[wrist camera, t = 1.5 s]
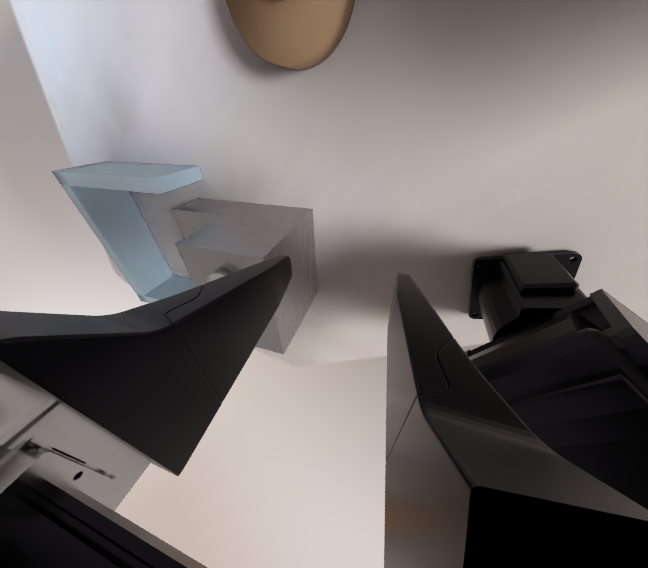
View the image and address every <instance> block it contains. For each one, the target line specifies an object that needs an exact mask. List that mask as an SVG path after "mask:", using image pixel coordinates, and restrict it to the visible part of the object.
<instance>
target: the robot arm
mask: <svg viewBox="0 0 648 568" xmlns="http://www.w3.org/2000/svg"><path fill="white" fill-rule="evenodd" d="M570 257H574V258H573V259H571V260H568V259H569V258H570ZM581 260H582V256H581V255H580V254H579V253H578V252H576V251H565V252H551V253H550V252H548V251H546V252H532V253H518V254H507V255H505V256H494V257H480V258H477V259H475V260H474V261H473V263H472V274H471V285H470V296H469V307H468V314H469V317H470V318H472V319H483V320H484V323H485V326H486V330H487V333H488V336H489V340H490V342H489V343H487V344H484V345H482V346H480V347H478V348H476V349H474V350H471V351H470V350H468V351H465V352H464V351H463V350H462V348H461V347H460V346H459V344H458V343H457V341H456V340H455V339H454V338H453V336H452V334H451V333H450V332H449V330H448V329H447V327H446V326H445V324H444V323H443V322H442V320H441V319H440V317H439V316H438V314H437V313H436V312H435V310H434V309H433V307H432V306H431V305H430V303H429V302H428V300H427V299H426V297H425V296H424V295H423V293H422V292H421V290H420V289H419V288H418V286H417V285H416V283H415V282H414V280H413V279H412V278H411V276H410V275H409V274H403V273H398V274H397V278H396V283H395V287H394V292H393V298H392V304H391V311H390V317H389V323H388V338H387V408H386V410H387V411H386V413H387V414H386V476H385V481H386V482H385V548H384V552H385V553H384V568H648V323H647V322H646V321H644V320H643V319H642V318H640V317H639V316H638V315H636V314H635V313H634V312H632V311H631V310H630V309H628V308H627V307H626V306H624V305H623V304H621V303H620V302H619V301H617V300H616V299H615V298H613V297H612V296H611V295H609V294H608V293H607V292H605V291H604V290H603V289H600V290H598V291H596V292H593V293H591V294H590V297H588V298H587V297H586V296H585V294H584V293H583V292H582V291H581V290H580V289H579V288H578V287H579V284H578V283H577V281H576V280H575V279H574V278H575V276H576V273H577V271H578V268H579V265H580V263H581ZM478 263H483V264H482V265H477V264H478ZM291 277H292V266H291V259H290V257H289V256H287V255H278V256H275V257H273V258H270V259H267V260H265V261H262V262H260V263H257V264H254V265H252V266H249V267H247V268H244V269H241V270H239V271H236V272H234V273H231V274H229V275H226V276H223V277H221V278H218V279H216V280H213V281H210V282H208V283H205V284H204V285H200V286H197V287H195V288H192V289H190V290H187V291H184V292H181V293H179V294H176V295H173V296H170V297H167V298H164V299H161V300H158V301H155V302H152V303H149V304H146V305H143V306H140V307H136V308H133V309H130V310H127V311H124V312H121V313H117V314H112V315H104V316H85V315H66V314H45V313H25V312H7V311H0V568H207V567H206V566H204V565H202V564H201V563H199V562H197V561H196V560H194V559H192V558H190V557H189V556H187V555H186V554H184V553H182V552H181V551H179V550H177V549H176V548H174V547H172V546H171V545H169V544H167V543H165V542H164V541H163V540H161V539H159V538H158V537H156V536H154V535H152V534H151V533H149V532H148V531H146V530H144V529H143V528H141V527H139V526H138V525H136V524H134V523H133V522H131V521H129V520H128V519H126V518H124V517H123V516H121V515H120V514H118V513H116V512H114V511H115V510H116V508H117V507H118V506H119V504H120V503H121V502H122V500H123V499H124V498H125V496H126V495H127V493H128V492H129V491H130V490H131V488H132V487H133V485H134V484H135V483H136V482H137V480H138V479H139V477H140V476H141V475H142V473H143V472H144V471H145V469H146V468H147V467H148V465H149V464H150V463H152V464H154V465H157V466H158V467H160V468H162V469H164V470H166V471H168V472H170V473H172V474H174V475H176V476H179V474H180V473H181V472H182V470H183V469H184V467H185V465H186V464H187V462H188V460H189V458H190V457H191V455H192V453H193V452H194V450H195V448H196V447H197V445H198V443H199V441H200V440H201V438H202V436H203V435H204V433H205V431H206V430H207V427H208V426H209V424H210V423H211V421H212V419H213V418H214V416H215V414H216V413H217V411H218V409H219V407H220V406H221V404H222V402H223V400H224V399H225V397H226V395H227V393H228V392H229V390H230V388H231V387H232V385H233V383H234V381H235V380H236V378H237V376H238V375H239V373H240V371H241V370H242V368H243V366H244V365H245V363H246V361H247V359H248V358H249V356H250V354H251V353H252V351H253V349H254V348H255V346H256V344H257V343H258V341H259V339H260V337H261V336H262V334H263V332H264V331H265V329H266V327H267V326H268V324H269V322H270V320H271V319H272V317H273V315H274V314H275V312H276V310H277V308H278V307H279V305H280V303H281V300H282V298H283V296H284V294H285V291H286V289H287V287H288V284H289V282H290V280H291ZM473 313H476V314H473Z"/></svg>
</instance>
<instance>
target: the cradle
mask: <svg viewBox="0 0 648 568" xmlns="http://www.w3.org/2000/svg"><path fill="white" fill-rule="evenodd" d="M52 172H53V174H54V175H55V177H56V178H57V180H58V181H59V183H60V184H61V185H62V187H63V188H64V190H65V191H66V192H67V194H68V196H69V197H70V198H71V200H72V201H73V203H74V204H75V205H76V207H77V208H78V210H79V211H80V213H81V214H82V216H83V217H84V219H85V220H86V222H87V223H88V224H89V226H90V227H91V229H92V230H93V232H94V233H95V235H96V236H97V237H98V239H99V240H100V242H101V243H102V245H103V246H104V248H105V249H106V250H107V252H108V253H109V255H110V256H111V258H112V259H113V261H114V262H115V264H116V265H117V266H118V268H119V269H120V271H121V272H122V274H123V275H124V277H125V278H126V279H127V281H128V282H129V284H130V285H131V287H132V288H133V289H134V291H135V292H136V294H137V295H138V297H139V298H140V299H141V301H144V302H148V303H152V302H155V301H158V300H161V299H164V298H167V297H170V296H173V295H176V294H179V293H181V292H184V291H187V290H190V289H192V288H195V285H194V283H193V280H192V279H190V278H185V277H180V276H176V275H173V273H172V271H171V269H170V268H169V266H168V264H167V262H166V260H165V258H164V256H163V254H162V252H161V250H160V249H159V247H158V245H157V243H156V241H155V239H154V237H153V235H152V233H151V231H150V229H149V228H148V226H147V224H146V222H145V220H144V218H143V216H142V214H141V212H140V210H139V209H138V207H137V205H136V203H135V201H134V199H133V197H132V195H131V193H130V191H132V192H143V193H154V194H163V193H166V192H169V191H171V190H174V189H177V188H180V187H183V186H186V185H189V184H192V183H195V182H197V181H200V180H203V177H202V174H201V171H200V168H199V166H187V165H167V164H146V163H126V162H101V163H95V164H90V165H84V166H79V167H73V168H67V169H62V170H56V171H52Z"/></svg>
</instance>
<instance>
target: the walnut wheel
mask: <svg viewBox="0 0 648 568" xmlns="http://www.w3.org/2000/svg"><path fill="white" fill-rule="evenodd" d="M226 2H227V5H228V8H229V11H230V14H231V16H232V19H233V21H234V23H235V25H236V27H237V29H238V31H239V33H240V34H241V36H242V37H243V39H244V40H245V42H246V43H247V44H248V46H249V47H250V48H251V49H252V50H253V51H254V52H255V53H256V54H257V55H258V56H260V57H261V58H263V59H264V60H266V61H268V62H270V63H272V64H275V65H279V66H283V67H286V68H290V69H294V70H306V69H310V68H313V67H315V66H317V65H319V64H320V63H322V62H323V61H324V60H325V59H327V58H328V57H329V56H330V55H331V53H332V52H333V51H334V50H335V48H336V47H337V46H338V44H339V42H340V41H341V39H342V37H343V35H344V33H345V31H346V28H347V26H348V23H349V20H350V18H351V14H352V10H353V6H354V2H355V0H226Z"/></svg>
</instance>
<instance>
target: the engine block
mask: <svg viewBox="0 0 648 568" xmlns="http://www.w3.org/2000/svg"><path fill="white" fill-rule="evenodd" d="M172 210H173V213H174V215H175V217H176V219H177V222H178V224H179V226H180V229H181V231H182V233H183V236H184V239H183V240H181V241H179V242H177V243H176V247H177V249H178V251H179V253H180V255H181V257H182V259H183V261H184V263H185V266H186V268H187V270H188V272H189V274H190V276H191V278H192V280H193V283H194V285H195V287H197V286H200V285H204V284H205V283H208V282H210V281H213V280H216V279H218V278H221V277H223V276H226V275H229V274H231V273H234V272H236V271H239V270H241V269H244V268H247V267H249V266H252V265H254V264H257V263H260V262H262V261H265V260H267V259H270V258H273V257H275V256H278V255H287V256H289V257H290V259H291V266H292V277H291V280H290V282H289V284H288V287H287V289H286V291H285V294H284V296H283V298H282V300H281V303H280V305H279V307H278V308H277V310H276V312H275V314H274V315H273V317H272V319H271V320H270V322H269V324H268V326H267V327H266V329H265V331H264V332H263V334H262V336H261V337H260V339H259V341H258V343H257V344H256V347H260V348H263V349H267V350H271V351H274V352H278V353H281V354H284V353H285V351H286V349H287V347H288V345H289V343H290V342H291V340H292V338H293V336H294V334H295V332H296V330H297V329H298V327H299V325H300V323H301V321H302V319H303V317H304V316H305V314H306V312H307V310H308V308H309V306H310V305H311V303H312V301H313V299H314V297H315V295H316V293H317V283H316V264H315V245H314V226H313V209H306V208H296V207H285V206H275V205H264V204H254V203H243V202H233V201H222V200H211V199H201V198H198V199H195V200H193V201H191V202H188V203H186V204H184V205H181V206H179V207H177V208H174V209H172Z"/></svg>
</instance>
